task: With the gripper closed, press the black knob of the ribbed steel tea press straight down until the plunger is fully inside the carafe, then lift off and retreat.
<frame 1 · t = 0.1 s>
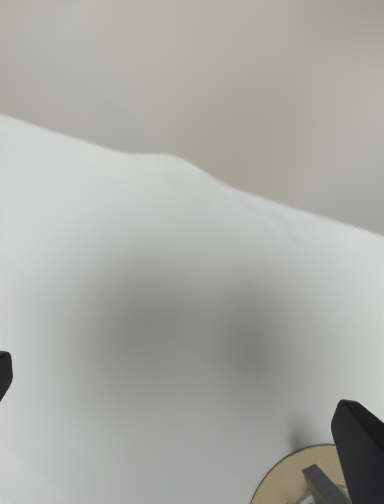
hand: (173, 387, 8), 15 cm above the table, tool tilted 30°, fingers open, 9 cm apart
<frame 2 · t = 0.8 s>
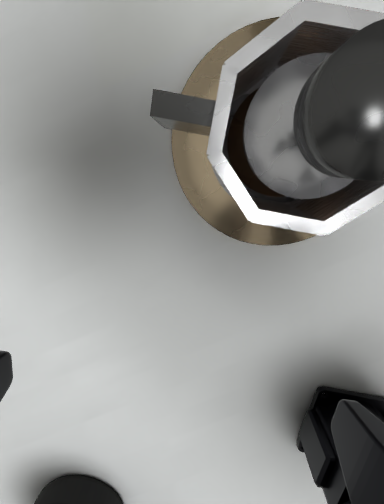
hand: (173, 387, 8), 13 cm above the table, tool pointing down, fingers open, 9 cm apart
press carafe: (276, 143, 18), on the table
pen holder: (84, 502, 29), on the table
plunger: (336, 122, 9), point 9 cm above the table, slide at 0.0 cm
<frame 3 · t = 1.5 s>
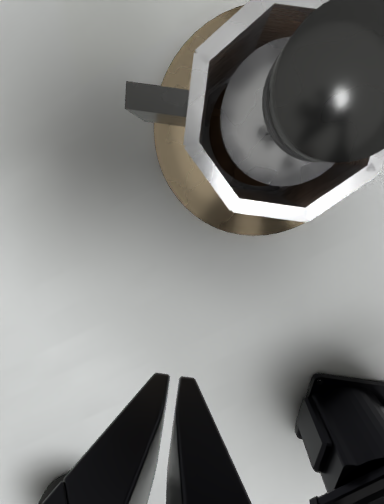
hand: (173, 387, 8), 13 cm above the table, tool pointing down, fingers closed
press carafe: (259, 132, 18), on the table
pen holder: (89, 498, 29), on the table
plunger: (308, 106, 9), point 9 cm above the table, slide at 0.0 cm
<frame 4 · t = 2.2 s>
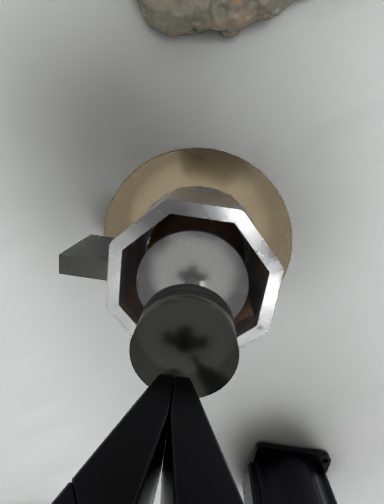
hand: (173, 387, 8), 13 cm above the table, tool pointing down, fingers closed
press carafe: (196, 246, 20), on the table
plunger: (189, 309, 12), point 9 cm above the table, slide at 0.0 cm
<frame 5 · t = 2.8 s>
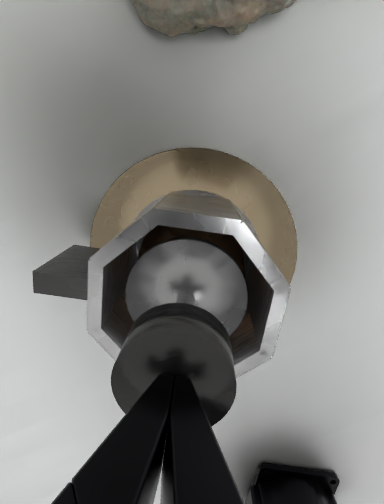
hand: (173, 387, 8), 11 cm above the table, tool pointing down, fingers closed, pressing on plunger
press carafe: (192, 255, 18), on the table
plunger: (181, 328, 10), point 8 cm above the table, slide at 0.7 cm, touching gripper
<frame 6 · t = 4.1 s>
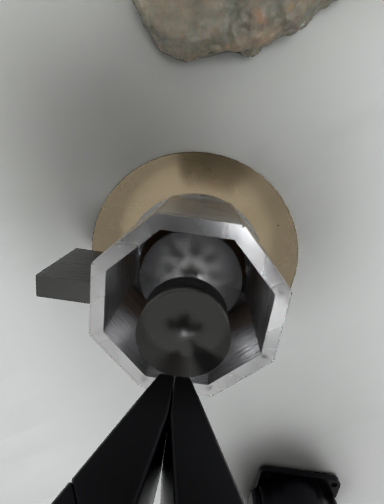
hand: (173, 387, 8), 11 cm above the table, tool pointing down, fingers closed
press carafe: (193, 258, 18), on the table
plunger: (187, 301, 13), point 6 cm above the table, slide at 3.1 cm
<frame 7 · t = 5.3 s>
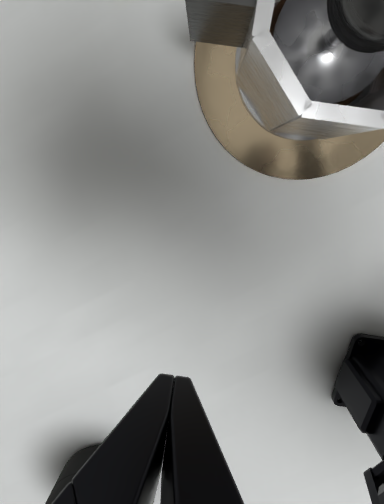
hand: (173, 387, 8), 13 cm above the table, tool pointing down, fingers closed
press carafe: (307, 62, 16), on the table
pen holder: (110, 473, 28), on the table
plunger: (360, 12, 11), point 6 cm above the table, slide at 3.1 cm
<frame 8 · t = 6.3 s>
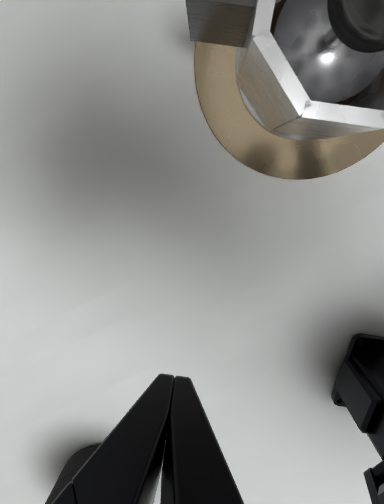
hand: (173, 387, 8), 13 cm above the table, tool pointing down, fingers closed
press carafe: (308, 62, 16), on the table
pen holder: (110, 473, 28), on the table
plunger: (360, 12, 11), point 6 cm above the table, slide at 3.1 cm
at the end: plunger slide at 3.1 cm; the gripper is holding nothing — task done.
